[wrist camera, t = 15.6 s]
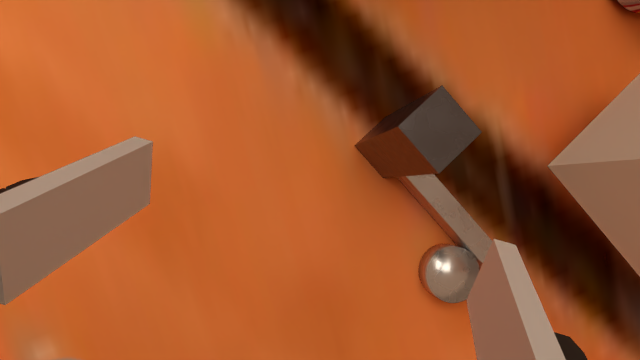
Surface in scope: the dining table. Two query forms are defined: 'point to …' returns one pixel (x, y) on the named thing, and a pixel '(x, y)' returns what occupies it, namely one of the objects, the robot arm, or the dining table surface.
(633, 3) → the soda can
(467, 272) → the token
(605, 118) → the cabinet
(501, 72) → the dining table surface
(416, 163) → the tool
